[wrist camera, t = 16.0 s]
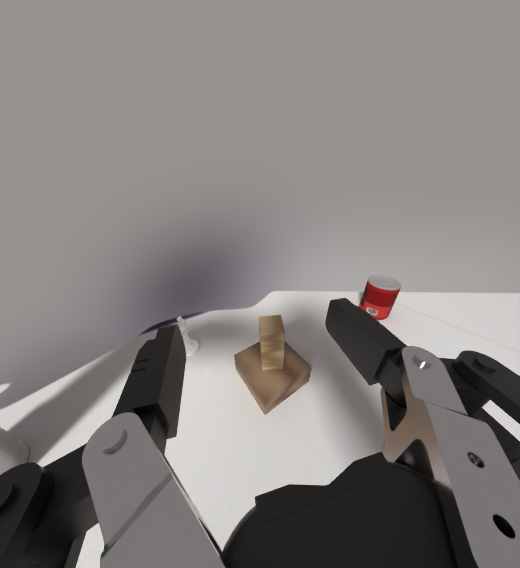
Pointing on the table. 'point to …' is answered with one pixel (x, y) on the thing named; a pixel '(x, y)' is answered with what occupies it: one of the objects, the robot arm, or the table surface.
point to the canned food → (380, 296)
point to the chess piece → (187, 338)
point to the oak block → (271, 342)
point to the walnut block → (271, 376)
